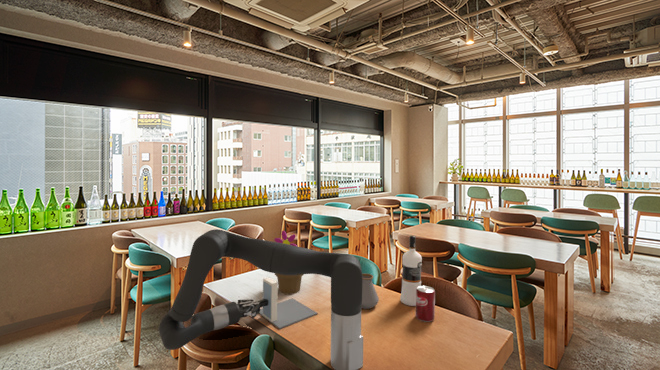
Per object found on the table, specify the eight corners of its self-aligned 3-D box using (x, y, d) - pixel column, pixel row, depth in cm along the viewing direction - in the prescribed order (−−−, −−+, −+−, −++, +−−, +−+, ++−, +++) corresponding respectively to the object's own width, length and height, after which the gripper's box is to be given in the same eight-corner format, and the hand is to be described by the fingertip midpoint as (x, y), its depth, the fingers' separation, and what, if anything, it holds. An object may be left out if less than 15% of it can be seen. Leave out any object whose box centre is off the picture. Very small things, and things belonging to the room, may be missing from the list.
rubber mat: (317, 314, 127) (317, 312, 127) (279, 329, 115) (279, 327, 115) (292, 299, 140) (292, 298, 140) (256, 311, 129) (256, 310, 129)
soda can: (421, 323, 120) (422, 293, 119) (411, 314, 127) (412, 286, 126) (438, 321, 122) (439, 291, 121) (427, 312, 129) (428, 284, 128)
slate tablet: (276, 320, 121) (277, 282, 120) (271, 322, 119) (271, 283, 118) (267, 313, 126) (268, 277, 125) (262, 315, 124) (262, 278, 124)
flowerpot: (269, 293, 147) (269, 230, 145) (282, 282, 160) (282, 225, 158) (297, 297, 142) (297, 233, 140) (308, 286, 156) (309, 227, 154)
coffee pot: (382, 303, 138) (383, 270, 137) (372, 313, 128) (372, 278, 127) (341, 292, 149) (341, 261, 148) (328, 301, 139) (328, 268, 138)
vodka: (410, 296, 145) (411, 232, 143) (426, 303, 138) (428, 236, 136) (395, 300, 140) (397, 235, 138) (411, 308, 133) (413, 239, 130)
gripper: (231, 312, 105) (275, 297, 116) (216, 299, 115) (258, 287, 126) (231, 333, 105) (276, 317, 117) (216, 319, 115) (258, 305, 126)
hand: (266, 301), depth 121 cm, fingers closed
